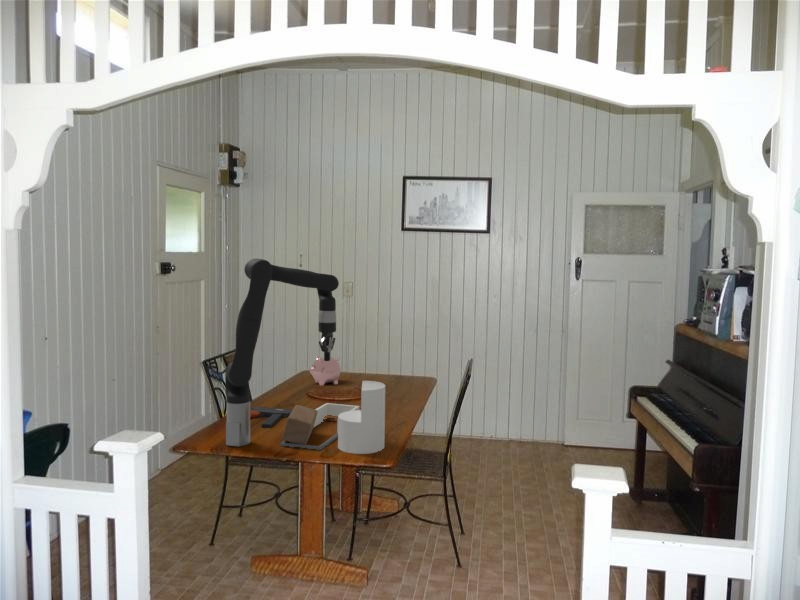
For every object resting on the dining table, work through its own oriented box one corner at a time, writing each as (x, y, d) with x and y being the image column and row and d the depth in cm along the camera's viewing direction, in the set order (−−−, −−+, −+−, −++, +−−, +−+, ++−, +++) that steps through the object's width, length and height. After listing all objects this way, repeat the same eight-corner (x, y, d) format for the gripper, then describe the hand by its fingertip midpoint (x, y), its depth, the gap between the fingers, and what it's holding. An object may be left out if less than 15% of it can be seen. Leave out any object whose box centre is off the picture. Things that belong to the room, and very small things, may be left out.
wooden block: (295, 403, 279) (287, 417, 259) (318, 409, 279) (311, 424, 259) (289, 425, 280) (281, 440, 260) (312, 431, 280) (305, 447, 260)
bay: (320, 450, 256) (320, 447, 256) (280, 445, 261) (280, 442, 260) (340, 435, 276) (340, 432, 276) (303, 431, 281) (303, 428, 281)
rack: (339, 435, 276) (339, 419, 276) (304, 431, 281) (304, 415, 280) (359, 421, 299) (359, 406, 299) (326, 417, 304) (326, 403, 303)
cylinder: (386, 440, 270) (387, 381, 268) (382, 454, 252) (383, 391, 250) (341, 438, 272) (342, 379, 270) (334, 453, 253) (334, 389, 251)
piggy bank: (306, 381, 383) (306, 355, 381) (335, 379, 390) (335, 353, 389) (314, 387, 369) (314, 359, 368) (344, 384, 376) (344, 357, 375)
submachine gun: (227, 419, 291) (255, 405, 315) (227, 424, 291) (255, 411, 315) (291, 425, 282) (315, 411, 306) (291, 431, 282) (315, 417, 306)
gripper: (329, 323, 272) (329, 364, 273) (341, 319, 285) (341, 358, 286) (312, 322, 274) (312, 362, 276) (325, 318, 287) (325, 357, 288)
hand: (327, 360), depth 281 cm, fingers closed
